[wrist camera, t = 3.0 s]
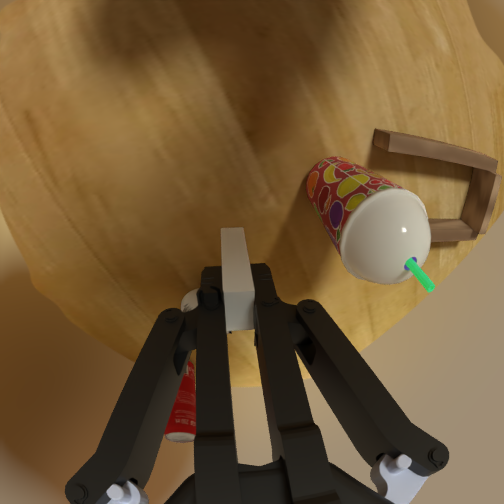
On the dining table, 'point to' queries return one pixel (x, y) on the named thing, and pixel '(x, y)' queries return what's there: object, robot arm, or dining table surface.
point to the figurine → (191, 302)
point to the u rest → (480, 188)
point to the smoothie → (371, 222)
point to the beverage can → (183, 410)
